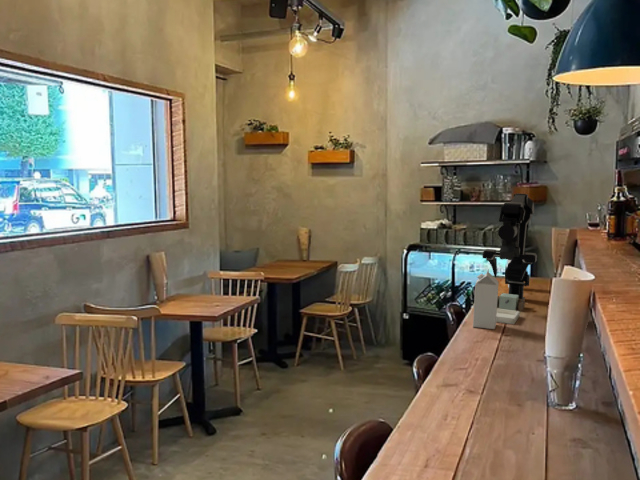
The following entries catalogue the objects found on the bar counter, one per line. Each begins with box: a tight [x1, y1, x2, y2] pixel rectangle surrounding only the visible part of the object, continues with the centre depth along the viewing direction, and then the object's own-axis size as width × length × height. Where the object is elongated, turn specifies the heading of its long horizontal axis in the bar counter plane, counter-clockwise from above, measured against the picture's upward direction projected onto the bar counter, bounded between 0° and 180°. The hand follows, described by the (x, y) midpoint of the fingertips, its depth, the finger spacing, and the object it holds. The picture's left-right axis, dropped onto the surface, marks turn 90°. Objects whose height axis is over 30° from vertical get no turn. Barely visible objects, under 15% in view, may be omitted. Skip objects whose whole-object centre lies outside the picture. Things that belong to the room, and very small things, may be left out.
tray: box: [496, 307, 521, 325], centre depth 217 cm, size 12×12×2 cm
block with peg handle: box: [498, 292, 519, 311], centre depth 231 cm, size 8×6×5 cm
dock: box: [497, 295, 526, 312], centre depth 233 cm, size 7×10×3 cm, turn 63°
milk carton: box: [472, 268, 499, 330], centre depth 205 cm, size 7×7×19 cm
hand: (508, 278), depth 226 cm, fingers open, 9 cm apart
